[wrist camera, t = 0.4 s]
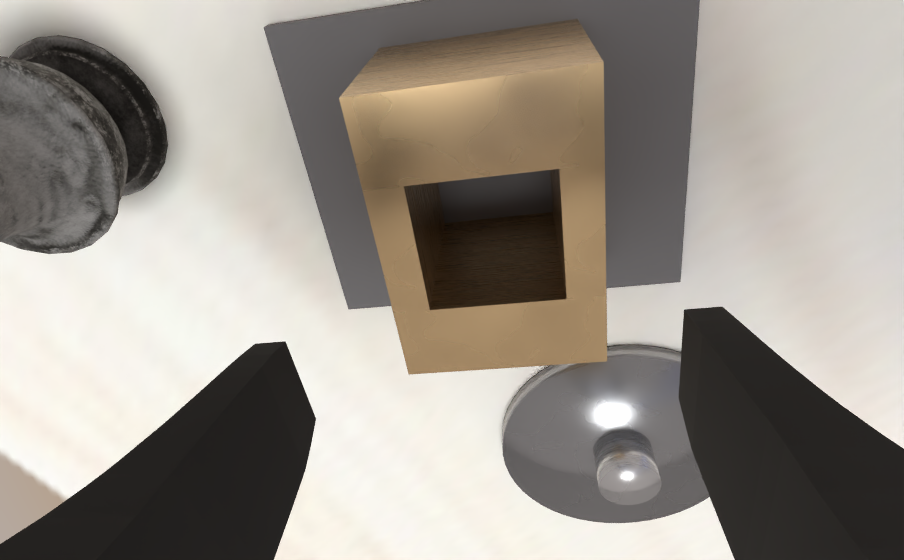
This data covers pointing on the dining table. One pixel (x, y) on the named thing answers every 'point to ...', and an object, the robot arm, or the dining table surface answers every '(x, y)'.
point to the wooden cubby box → (475, 156)
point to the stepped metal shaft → (71, 143)
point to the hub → (605, 438)
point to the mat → (626, 173)
